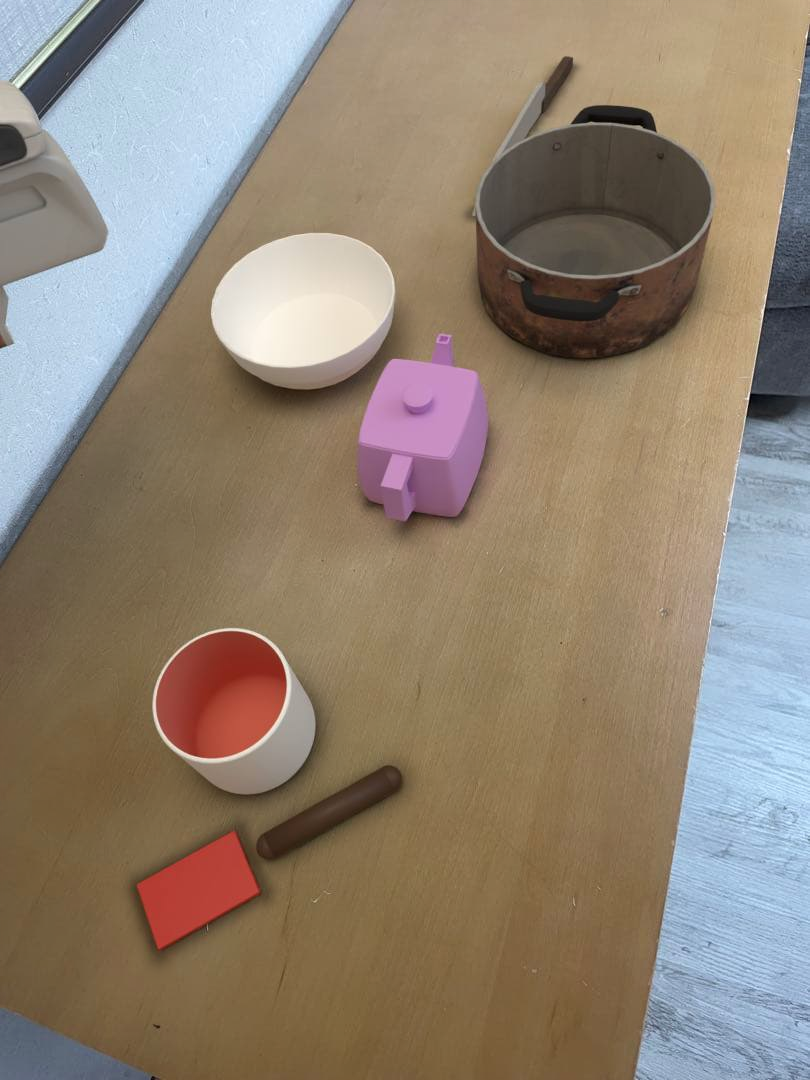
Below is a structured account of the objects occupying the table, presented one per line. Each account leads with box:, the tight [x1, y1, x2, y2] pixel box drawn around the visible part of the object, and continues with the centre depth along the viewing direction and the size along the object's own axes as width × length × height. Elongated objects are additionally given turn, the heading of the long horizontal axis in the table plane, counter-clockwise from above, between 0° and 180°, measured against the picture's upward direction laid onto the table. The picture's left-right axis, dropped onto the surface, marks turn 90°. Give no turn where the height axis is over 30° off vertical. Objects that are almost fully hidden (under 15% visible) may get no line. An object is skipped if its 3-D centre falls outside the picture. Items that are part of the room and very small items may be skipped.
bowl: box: [210, 232, 396, 391], centre depth 86 cm, size 18×18×7 cm
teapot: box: [357, 333, 489, 522], centre depth 75 cm, size 18×10×10 cm, turn 163°
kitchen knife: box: [471, 55, 574, 217], centre depth 101 cm, size 4×1×30 cm
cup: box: [151, 627, 316, 795], centre depth 64 cm, size 10×10×10 cm
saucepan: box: [474, 104, 717, 359], centre depth 85 cm, size 30×22×11 cm
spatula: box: [136, 764, 403, 951], centre depth 63 cm, size 21×5×2 cm, turn 118°
